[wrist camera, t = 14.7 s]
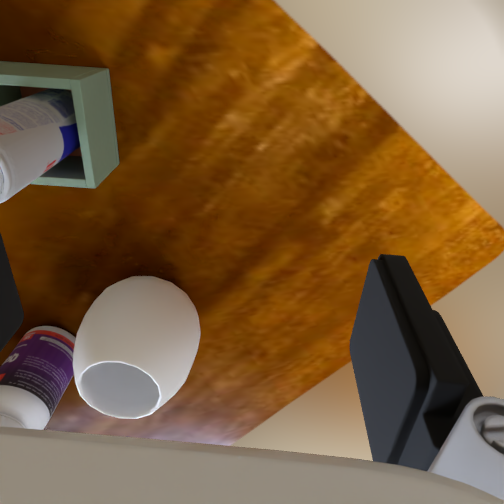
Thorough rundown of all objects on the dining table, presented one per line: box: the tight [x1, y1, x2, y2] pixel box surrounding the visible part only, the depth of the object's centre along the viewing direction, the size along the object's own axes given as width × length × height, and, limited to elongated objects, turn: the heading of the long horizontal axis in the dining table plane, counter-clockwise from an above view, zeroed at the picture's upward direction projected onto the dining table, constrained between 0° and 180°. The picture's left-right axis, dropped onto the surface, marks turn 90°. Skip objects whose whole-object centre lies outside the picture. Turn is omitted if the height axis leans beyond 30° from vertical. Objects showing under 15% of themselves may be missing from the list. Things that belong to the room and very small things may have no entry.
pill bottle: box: [0, 326, 76, 430], centre depth 50 cm, size 8×8×14 cm
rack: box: [0, 61, 119, 188], centre depth 37 cm, size 17×9×7 cm, turn 87°
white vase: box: [73, 276, 201, 419], centre depth 46 cm, size 13×13×14 cm
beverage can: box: [0, 88, 80, 203], centre depth 33 cm, size 6×6×15 cm
